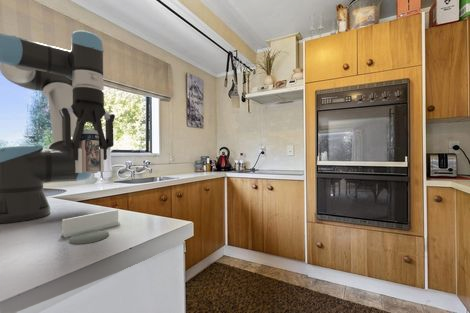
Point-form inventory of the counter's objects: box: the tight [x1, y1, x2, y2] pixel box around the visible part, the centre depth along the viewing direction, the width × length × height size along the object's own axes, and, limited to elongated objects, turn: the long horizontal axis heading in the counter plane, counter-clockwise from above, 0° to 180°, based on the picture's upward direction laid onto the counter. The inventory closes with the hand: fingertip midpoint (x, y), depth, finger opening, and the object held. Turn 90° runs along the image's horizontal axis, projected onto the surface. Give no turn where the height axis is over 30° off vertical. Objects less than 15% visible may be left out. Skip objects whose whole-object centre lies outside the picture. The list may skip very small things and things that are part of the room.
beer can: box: [80, 129, 100, 174], centre depth 66 cm, size 5×5×12 cm
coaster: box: [68, 230, 109, 245], centre depth 55 cm, size 8×8×1 cm
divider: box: [60, 209, 121, 238], centre depth 62 cm, size 3×13×4 cm, turn 142°
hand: (90, 171), depth 66 cm, fingers closed on beer can, 5 cm apart
